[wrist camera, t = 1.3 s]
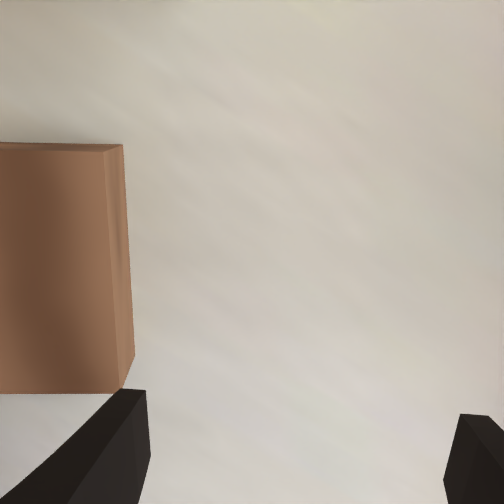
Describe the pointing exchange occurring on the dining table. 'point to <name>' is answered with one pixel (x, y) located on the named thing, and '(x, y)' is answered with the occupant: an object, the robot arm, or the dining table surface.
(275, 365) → the dining table surface
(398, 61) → the dining table surface
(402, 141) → the dining table surface
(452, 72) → the dining table surface
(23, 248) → the slab
